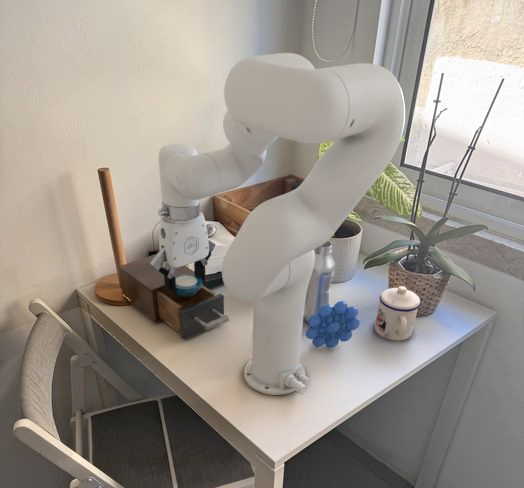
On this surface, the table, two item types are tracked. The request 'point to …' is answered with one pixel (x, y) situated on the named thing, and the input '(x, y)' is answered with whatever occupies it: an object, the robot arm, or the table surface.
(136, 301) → the cabinet
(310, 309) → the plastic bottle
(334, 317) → the blue knobbly flower
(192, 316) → the drawer
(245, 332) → the table surface
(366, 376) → the table surface
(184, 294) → the teal white round disc
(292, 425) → the table surface
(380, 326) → the teacup with lid
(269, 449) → the table surface
